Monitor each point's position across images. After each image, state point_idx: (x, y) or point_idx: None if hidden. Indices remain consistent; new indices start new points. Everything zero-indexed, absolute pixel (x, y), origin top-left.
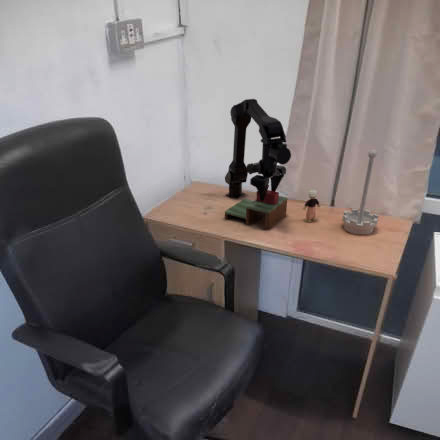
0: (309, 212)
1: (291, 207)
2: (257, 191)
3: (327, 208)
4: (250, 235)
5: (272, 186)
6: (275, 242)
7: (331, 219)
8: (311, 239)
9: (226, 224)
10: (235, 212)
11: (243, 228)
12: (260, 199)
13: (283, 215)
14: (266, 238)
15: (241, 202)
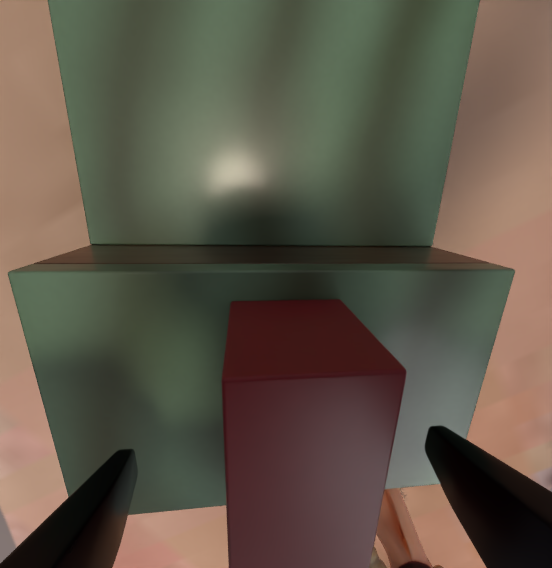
0: (376, 533)
1: (499, 346)
2: (227, 395)
3: (528, 474)
4: (7, 340)
5: (515, 526)
6: (44, 475)
7: (417, 528)
8: (188, 556)
9: (16, 88)
10: (97, 98)
11: (59, 251)
12: (102, 467)
13: None
14: (48, 425)
15: (368, 17)
